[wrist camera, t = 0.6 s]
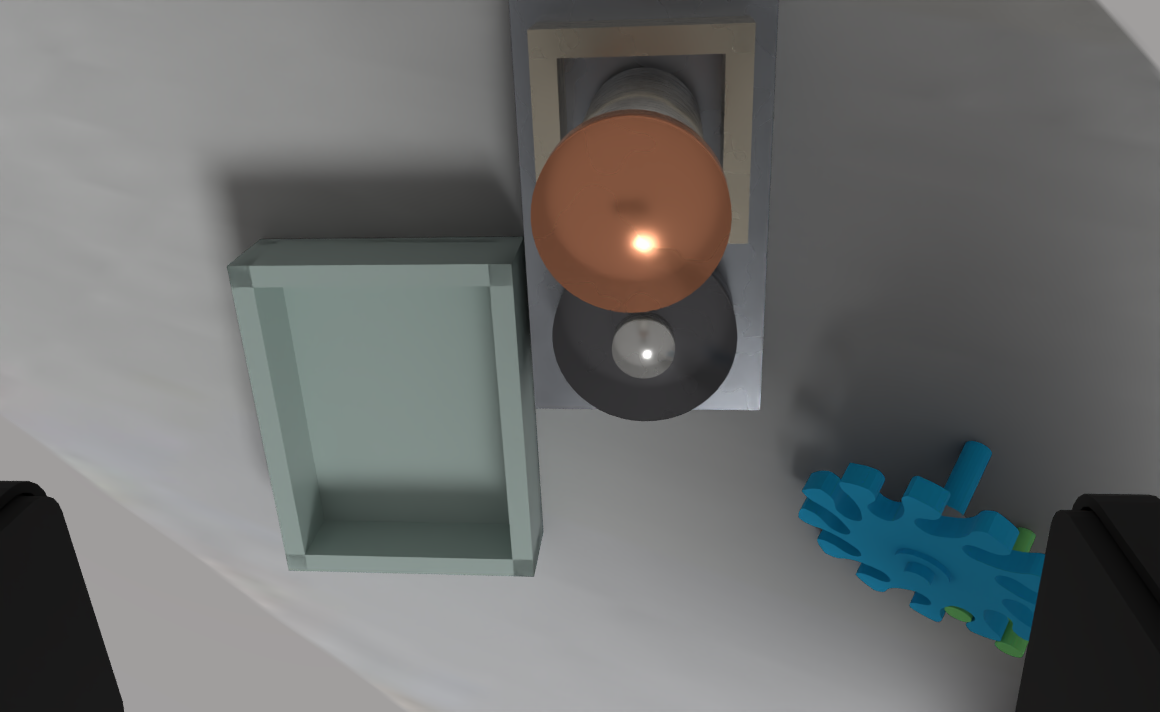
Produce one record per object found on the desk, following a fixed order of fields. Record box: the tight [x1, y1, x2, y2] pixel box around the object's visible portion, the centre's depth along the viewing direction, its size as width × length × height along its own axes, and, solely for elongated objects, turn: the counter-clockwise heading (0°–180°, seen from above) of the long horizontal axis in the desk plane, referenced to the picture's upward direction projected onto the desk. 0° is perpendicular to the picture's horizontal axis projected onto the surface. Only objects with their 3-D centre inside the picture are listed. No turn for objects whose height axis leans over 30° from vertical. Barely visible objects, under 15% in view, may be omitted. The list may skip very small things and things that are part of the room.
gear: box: [799, 441, 1045, 658], centre depth 36 cm, size 11×6×10 cm
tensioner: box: [509, 0, 779, 421], centre depth 31 cm, size 14×8×6 cm, turn 2°
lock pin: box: [531, 67, 732, 313], centre depth 25 cm, size 4×4×10 cm
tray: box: [227, 237, 543, 577], centre depth 37 cm, size 13×10×3 cm
